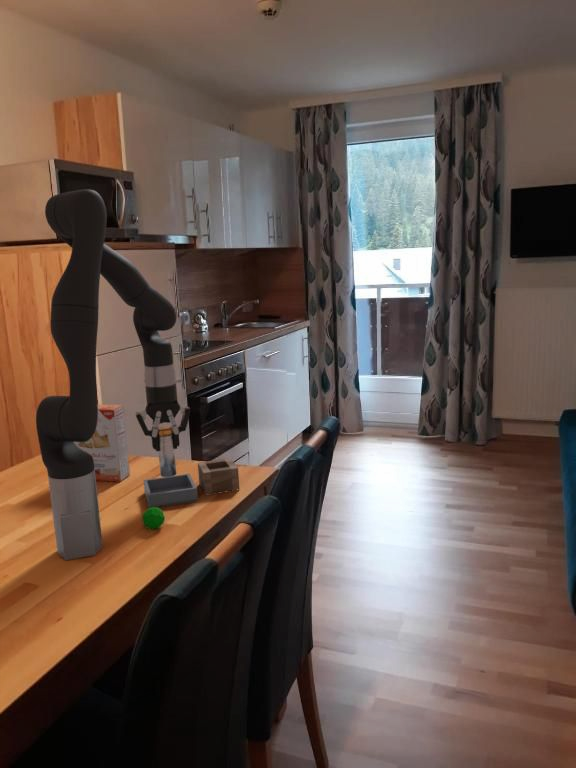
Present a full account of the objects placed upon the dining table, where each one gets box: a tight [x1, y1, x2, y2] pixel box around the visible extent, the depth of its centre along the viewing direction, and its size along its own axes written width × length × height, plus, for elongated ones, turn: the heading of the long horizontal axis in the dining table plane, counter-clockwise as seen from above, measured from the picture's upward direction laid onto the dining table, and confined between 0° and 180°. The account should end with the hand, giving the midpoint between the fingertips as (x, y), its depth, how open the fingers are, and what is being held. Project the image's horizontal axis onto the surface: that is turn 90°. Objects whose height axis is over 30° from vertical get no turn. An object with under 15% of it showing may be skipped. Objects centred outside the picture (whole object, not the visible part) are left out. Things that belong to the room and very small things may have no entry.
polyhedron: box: [141, 507, 165, 531], centre depth 145 cm, size 5×5×5 cm
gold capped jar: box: [157, 426, 177, 477], centre depth 162 cm, size 4×4×12 cm
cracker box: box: [74, 404, 131, 483], centre depth 179 cm, size 14×6×21 cm, turn 76°
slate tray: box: [143, 473, 199, 509], centre depth 164 cm, size 12×12×4 cm
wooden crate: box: [197, 457, 240, 496], centre depth 169 cm, size 9×9×6 cm
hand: (166, 448), depth 162 cm, fingers closed on gold capped jar, 4 cm apart
